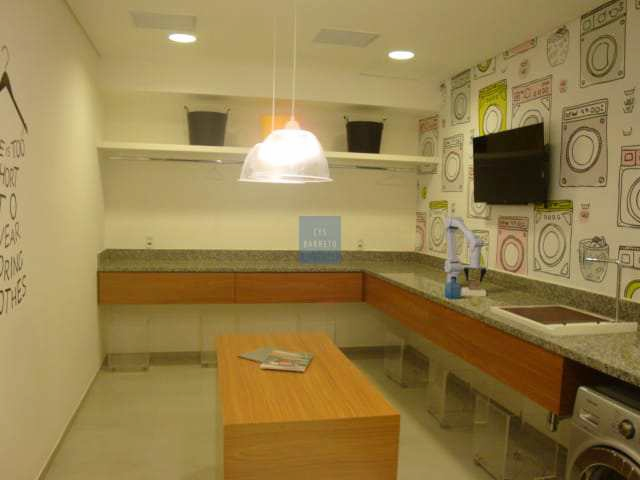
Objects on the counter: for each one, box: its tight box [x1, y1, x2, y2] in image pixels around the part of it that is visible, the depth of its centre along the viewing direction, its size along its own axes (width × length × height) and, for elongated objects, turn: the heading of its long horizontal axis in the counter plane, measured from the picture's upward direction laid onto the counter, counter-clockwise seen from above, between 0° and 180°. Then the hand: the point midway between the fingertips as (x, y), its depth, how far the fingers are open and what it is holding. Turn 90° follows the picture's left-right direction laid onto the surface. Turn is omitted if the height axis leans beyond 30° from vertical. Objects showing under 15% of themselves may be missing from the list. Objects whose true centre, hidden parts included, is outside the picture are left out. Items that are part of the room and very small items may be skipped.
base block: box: [461, 286, 487, 297], centre depth 304 cm, size 12×12×3 cm
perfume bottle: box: [444, 276, 462, 300], centre depth 288 cm, size 6×6×12 cm
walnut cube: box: [468, 279, 480, 290], centre depth 304 cm, size 5×5×5 cm
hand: (474, 281), depth 303 cm, fingers open, 7 cm apart
